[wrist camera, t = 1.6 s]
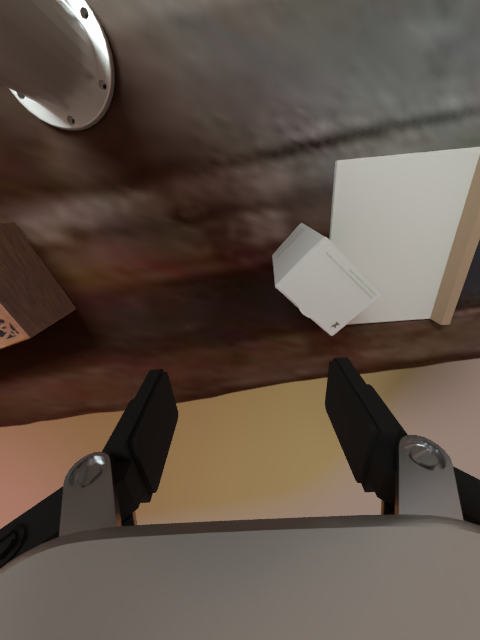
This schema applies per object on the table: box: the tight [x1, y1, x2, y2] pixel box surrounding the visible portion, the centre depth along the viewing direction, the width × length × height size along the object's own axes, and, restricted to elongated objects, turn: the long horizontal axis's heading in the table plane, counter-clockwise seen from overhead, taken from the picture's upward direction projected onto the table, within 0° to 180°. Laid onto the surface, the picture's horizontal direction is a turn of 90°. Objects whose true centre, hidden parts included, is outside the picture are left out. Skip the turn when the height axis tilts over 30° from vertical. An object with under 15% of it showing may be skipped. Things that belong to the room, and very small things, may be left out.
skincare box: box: [272, 223, 383, 336], centre depth 29 cm, size 8×7×16 cm
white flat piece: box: [329, 147, 480, 325], centre depth 34 cm, size 24×19×3 cm
